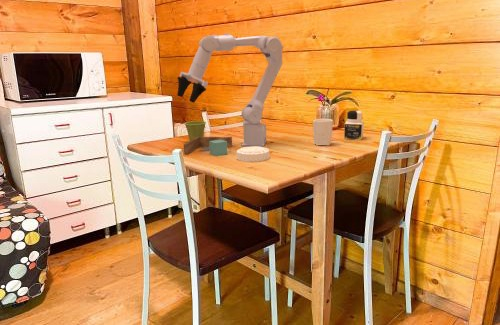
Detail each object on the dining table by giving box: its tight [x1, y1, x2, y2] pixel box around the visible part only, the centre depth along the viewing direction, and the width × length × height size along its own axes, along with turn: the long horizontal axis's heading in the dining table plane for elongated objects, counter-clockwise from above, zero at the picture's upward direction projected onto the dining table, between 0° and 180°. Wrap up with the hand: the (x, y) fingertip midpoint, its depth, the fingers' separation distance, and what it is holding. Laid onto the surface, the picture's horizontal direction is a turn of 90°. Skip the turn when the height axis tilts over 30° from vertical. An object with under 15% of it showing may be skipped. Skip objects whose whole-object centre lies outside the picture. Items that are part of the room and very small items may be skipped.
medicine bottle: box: [343, 110, 365, 141], centre depth 164 cm, size 7×7×12 cm
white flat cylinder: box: [235, 146, 271, 163], centre depth 137 cm, size 12×12×4 cm
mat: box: [199, 147, 210, 152], centre depth 153 cm, size 7×7×1 cm
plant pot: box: [183, 120, 207, 141], centre depth 167 cm, size 9×9×9 cm
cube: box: [209, 139, 229, 157], centre depth 144 cm, size 5×5×5 cm
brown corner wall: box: [183, 136, 233, 155], centre depth 151 cm, size 15×15×4 cm
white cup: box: [312, 118, 334, 146], centre depth 154 cm, size 8×8×10 cm
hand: (185, 99), depth 148 cm, fingers open, 7 cm apart
